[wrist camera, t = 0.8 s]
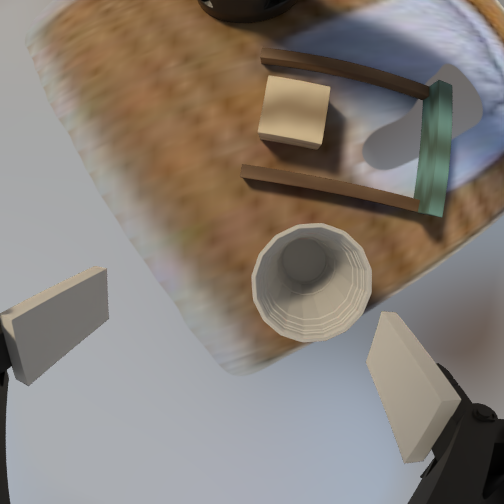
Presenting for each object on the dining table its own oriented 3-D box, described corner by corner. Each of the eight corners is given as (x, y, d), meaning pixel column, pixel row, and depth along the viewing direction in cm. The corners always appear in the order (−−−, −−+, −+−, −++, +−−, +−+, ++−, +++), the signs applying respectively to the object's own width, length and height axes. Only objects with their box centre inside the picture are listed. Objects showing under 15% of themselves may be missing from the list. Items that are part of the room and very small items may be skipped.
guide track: (263, 54, 33) (260, 36, 28) (435, 95, 32) (452, 85, 27) (242, 177, 36) (236, 175, 31) (424, 214, 35) (442, 217, 30)
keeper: (270, 88, 34) (268, 75, 30) (325, 98, 34) (330, 86, 29) (260, 139, 35) (257, 132, 31) (316, 150, 35) (321, 144, 31)
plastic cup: (335, 204, 36) (360, 209, 24) (353, 287, 38) (381, 325, 26) (249, 227, 37) (235, 242, 26) (272, 308, 39) (268, 353, 27)
